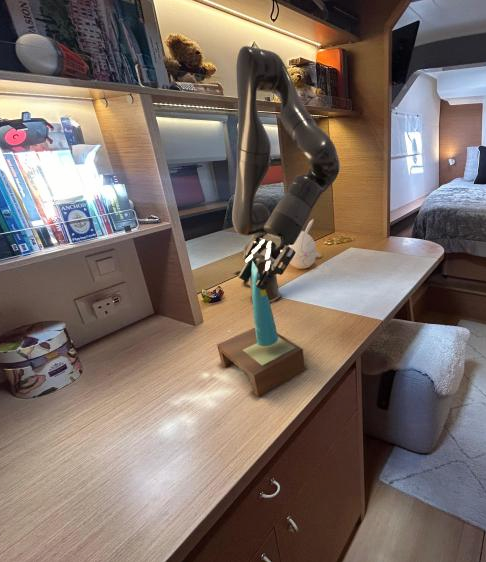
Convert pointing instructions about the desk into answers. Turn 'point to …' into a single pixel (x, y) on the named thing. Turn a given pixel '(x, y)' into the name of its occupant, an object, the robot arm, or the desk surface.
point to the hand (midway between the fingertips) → (250, 283)
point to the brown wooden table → (262, 360)
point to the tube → (262, 313)
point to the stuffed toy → (304, 250)
